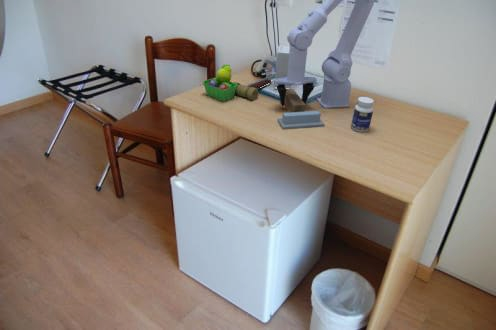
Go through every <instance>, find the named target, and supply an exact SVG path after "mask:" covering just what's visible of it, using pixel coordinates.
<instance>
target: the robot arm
mask: <svg viewBox="0 0 496 330" xmlns="http://www.w3.org/2000/svg"><path fill="white" fill-rule="evenodd" d="M343 1H344V0H324V2H323V3H322V4H321V6H320V7H318V8H313V9H312V10H309V11H308V12H307V16H306V17H305V18H304V19H303V20H302V21H301V22H300V23H299V24H298V25H297V27H295V28H292V29H291V30H290V31H289V33H288V35H287V36H286V39H287V42H288V43H289V47H290V51H289V62H288V73H287V77H284V78H279V79H275V78H274V79H273V86H275V87H277V89H278V90H277V92H278V96H279V101H280V102H279V103H280V105H281V106H282V107H285V105H284V104H285V94H286V88H285V85H290V86H302V95H301V99H302V101H303V102H304V103H305V105H306V104H307V101H308V98H309V97H310V95H311V93H313V91H314V89H315V86H316V85H317V82H318V78H316V77H315V76H310V77H309V76H306V75H305V73H306V66H307V65H306V64H307V59H308V58H307V56H308V48H309V47H311V46H312V42H313V39H314V38H315V36H316V35H317V33H318V32H319V31H320V30H321V29H322V27H324V25H325V24H326V23H328V22H327V21H328V16H329V15H330V14H331V12H333V11H334V10H335V9H336V8H337V7H339V5H340V4H341V3H342V2H343ZM375 1H376V0H354V6H353V8H352V10H351V12H350V15H349V17H348V20H347V21H346V24H345V27H344V29H343V31H342V33H341V36H340V38H339V40H338V43H337V45H336V47H335V49H334V50H332V51H330V52H329V54H328V55H327V57H326V58H325V59H324V60H323V62H322V65H321V71H322V73H323V82H322V89H321V97H316V100H317V101H318V103H319V104H320V105H321V106H322V107H323V109H333V108H348V107H350V103H349V101H350V97H351V92H352V84H351V81H350V79H349V78H350V76H351V72H352V70H351V68H352V67H353V61H352V60H353V59H352V57H351V56H352V53H353V51H354V48H355V47H356V45H357V42H358V39H359V38H360V36H361V34H362V31H363V29H364V26H365V24H366V22H367V20H368V18H369V15H370V14H371V11H372V9H373V7H374V4H375ZM314 85H315V86H314Z"/></svg>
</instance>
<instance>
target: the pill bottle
mask: <svg viewBox="0 0 496 330" xmlns="http://www.w3.org/2000/svg"><path fill="white" fill-rule="evenodd" d="M373 105H374V99H373V98H370V97H367V96H359V97H358V99H357V104H356V105H355V106H354V110H353V115H352V120H351V124H350V126H351V129H352V130H353V131H355V132H359V133H366V132H368V131H369V130H370V126H371V123H372V119H373V113H374V107H373Z"/></svg>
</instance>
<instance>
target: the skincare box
mask: <svg viewBox="0 0 496 330" xmlns="http://www.w3.org/2000/svg"><path fill="white" fill-rule="evenodd" d="M289 51H290V46H288V45H278V47H277V54H276V56H277V57H276V66H275V77H274V79H279V78H284V77H287V73H288V62H289ZM273 86H274V85H273ZM290 86H291V85H285V88H289V89H290ZM274 87H275V86H274ZM274 87H273V88H274Z"/></svg>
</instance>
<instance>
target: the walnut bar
mask: <svg viewBox="0 0 496 330" xmlns="http://www.w3.org/2000/svg"><path fill="white" fill-rule="evenodd" d="M284 107H285V108H286V109H287V111H288V113H292V112H306V107H307V105H306V104H305V103H304V102H303V101H302V97H300V96H299V95H298V93H297V92H296V91H295V89H294V88H289V89H286V94H285V104H284Z"/></svg>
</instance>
